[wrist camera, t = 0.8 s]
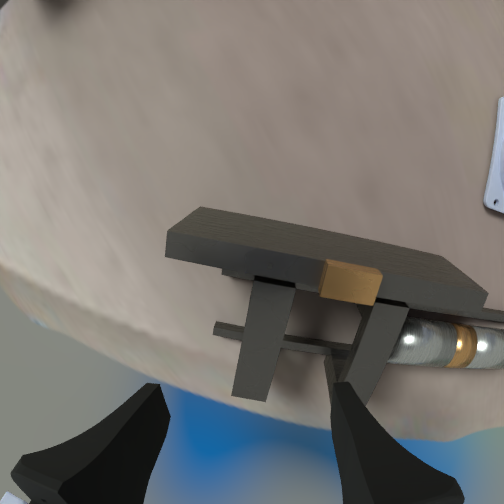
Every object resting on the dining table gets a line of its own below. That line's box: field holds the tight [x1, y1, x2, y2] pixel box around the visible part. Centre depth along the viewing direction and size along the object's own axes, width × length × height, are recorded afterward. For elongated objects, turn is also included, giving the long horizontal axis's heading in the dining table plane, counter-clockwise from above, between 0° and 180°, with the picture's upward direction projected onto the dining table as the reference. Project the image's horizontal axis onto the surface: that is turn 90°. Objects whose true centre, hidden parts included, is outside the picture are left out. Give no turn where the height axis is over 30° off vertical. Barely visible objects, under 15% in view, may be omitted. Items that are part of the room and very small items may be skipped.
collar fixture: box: [165, 207, 504, 406], centre depth 17 cm, size 26×9×7 cm, turn 80°
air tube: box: [387, 316, 504, 369], centre depth 19 cm, size 12×3×3 cm, turn 80°
